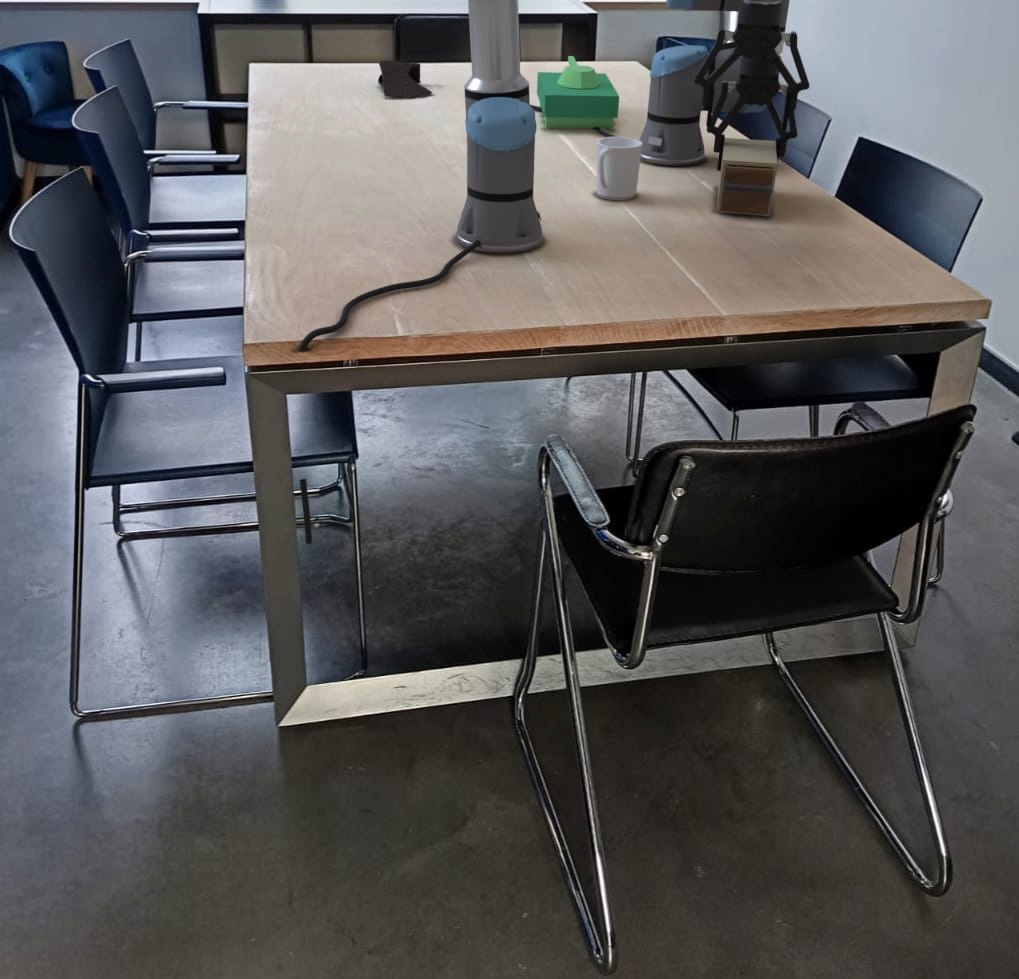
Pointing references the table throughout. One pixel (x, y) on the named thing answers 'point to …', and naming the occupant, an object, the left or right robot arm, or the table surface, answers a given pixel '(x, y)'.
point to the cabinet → (747, 162)
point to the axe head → (401, 79)
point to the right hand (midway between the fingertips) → (746, 170)
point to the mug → (617, 167)
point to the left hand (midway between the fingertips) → (745, 127)
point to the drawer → (747, 189)
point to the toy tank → (577, 98)
